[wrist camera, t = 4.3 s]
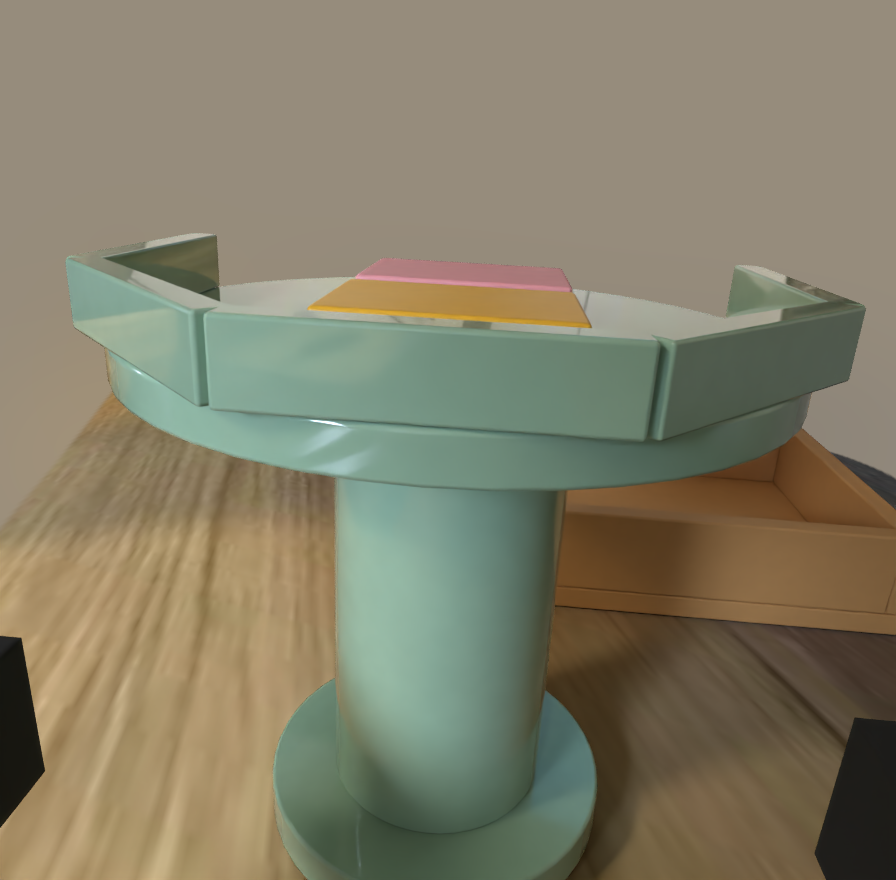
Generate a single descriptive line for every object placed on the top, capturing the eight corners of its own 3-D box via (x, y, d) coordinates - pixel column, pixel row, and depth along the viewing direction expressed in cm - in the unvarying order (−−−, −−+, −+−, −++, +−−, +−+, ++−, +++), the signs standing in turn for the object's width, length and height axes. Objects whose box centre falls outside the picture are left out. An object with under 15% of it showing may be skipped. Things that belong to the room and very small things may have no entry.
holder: (355, 588, 27) (356, 494, 26) (402, 463, 39) (405, 394, 38) (903, 636, 26) (932, 540, 25) (780, 492, 38) (796, 422, 36)
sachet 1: (354, 313, 15) (354, 273, 15) (380, 290, 18) (380, 257, 18) (569, 327, 15) (573, 287, 15) (559, 301, 18) (562, 267, 18)
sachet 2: (305, 356, 12) (305, 305, 11) (348, 318, 15) (348, 277, 14) (587, 374, 11) (593, 323, 11) (571, 333, 14) (576, 291, 14)
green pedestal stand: (34, 1027, 13) (-126, 291, 9) (265, 616, 25) (248, 222, 21) (783, 1123, 12) (1034, 366, 8) (647, 650, 24) (715, 249, 20)
